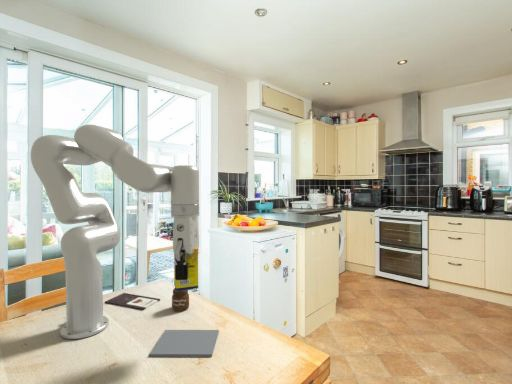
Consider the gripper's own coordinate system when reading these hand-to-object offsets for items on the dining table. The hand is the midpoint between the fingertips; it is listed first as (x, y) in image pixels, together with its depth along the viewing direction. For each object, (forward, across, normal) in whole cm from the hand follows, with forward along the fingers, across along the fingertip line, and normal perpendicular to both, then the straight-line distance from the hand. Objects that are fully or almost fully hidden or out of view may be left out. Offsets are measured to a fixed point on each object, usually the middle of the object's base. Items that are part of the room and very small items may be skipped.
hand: (185, 274), depth 77 cm
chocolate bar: (+20, +28, +28) cm, 44 cm away
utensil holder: (+20, +22, +8) cm, 30 cm away
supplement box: (+4, 0, 0) cm, 4 cm away
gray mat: (+19, 0, 0) cm, 19 cm away
